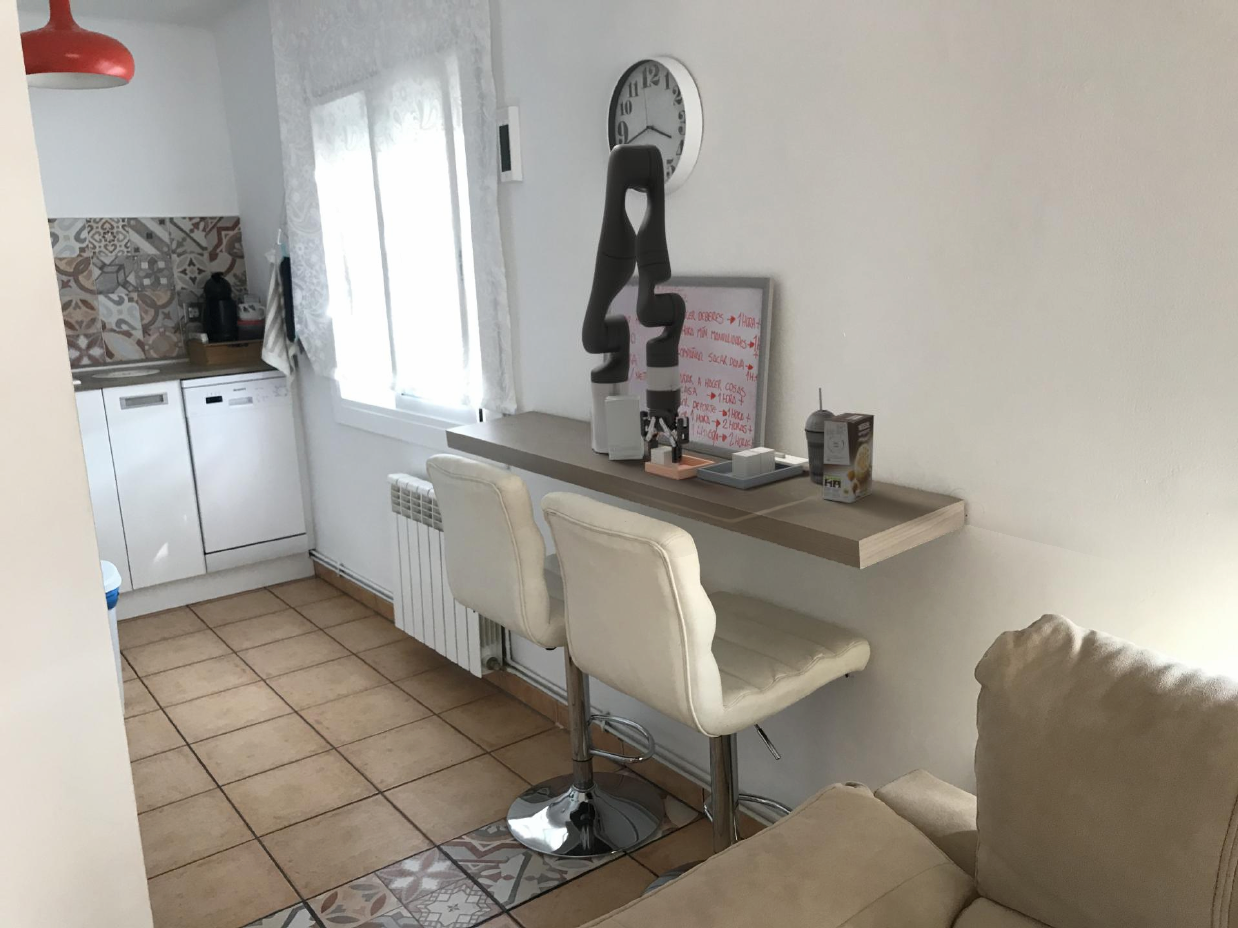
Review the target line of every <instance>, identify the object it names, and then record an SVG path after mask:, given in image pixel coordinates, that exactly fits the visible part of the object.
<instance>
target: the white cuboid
mask: <svg viewBox="0 0 1238 928" xmlns="http://www.w3.org/2000/svg"><path fill="white" fill-rule="evenodd" d="M731 455H732V456H731V457H732V458H731V459H732V476H733V477H737V478H742V479H746V478H750V477H753V476H757V475H760V453H756V452H751V451H747V450H743V451H742V450H741V451H739V452H738V451H737V452H734V453H732V454H731Z"/></svg>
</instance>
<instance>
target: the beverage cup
mask: <svg viewBox="0 0 1238 928" xmlns="http://www.w3.org/2000/svg"><path fill="white" fill-rule="evenodd" d="M822 395H823V394H822V388H821V387H820V388H818V400H819V401H818V403H819V409H817V410H815V411H813V412H812V413H811V414H809V416H808V417H807V419H806V421H805V427H804V431H805V439H806V441H807V442H806V443H807V444H806V445H807V456H808V458H807V459H809V464H808V470H809V477H810V482H811V483H814V484H821V485H823V475H824V473H823V472H824V424H825V421H824V419H827V418H831V417H834V416H836V415H835V414H834V413H833V412H831V411H830V410H827V409H823V398H822V397H823V396H822Z"/></svg>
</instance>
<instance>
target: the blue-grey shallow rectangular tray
mask: <svg viewBox="0 0 1238 928" xmlns="http://www.w3.org/2000/svg"><path fill="white" fill-rule="evenodd" d="M805 465H809V459H808V458H803V457H798V456H794V455H789V454H786V453H783V452H779V451H778V452H777V451H775V471H773V472H769V473H765V474H761V475H757V476H753V477H750V478H746V479H742V478H737V477H733V476H732V460H728V461H723V462H720V463H715V465H710V466H706V467H702V468H698V469H697V475H696V478H697V479H701V480H705V481H709V482H712V483H716V484H721V485H725V486H728V487H733V488H736V489H740V490H746V489H751V488H754V487H758V486H761V485H765V484H769V483H772V482H773V483H774V482H776V481H780V480H784V479H787V478H790V477H795V476H797V475H803V466H805Z"/></svg>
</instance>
